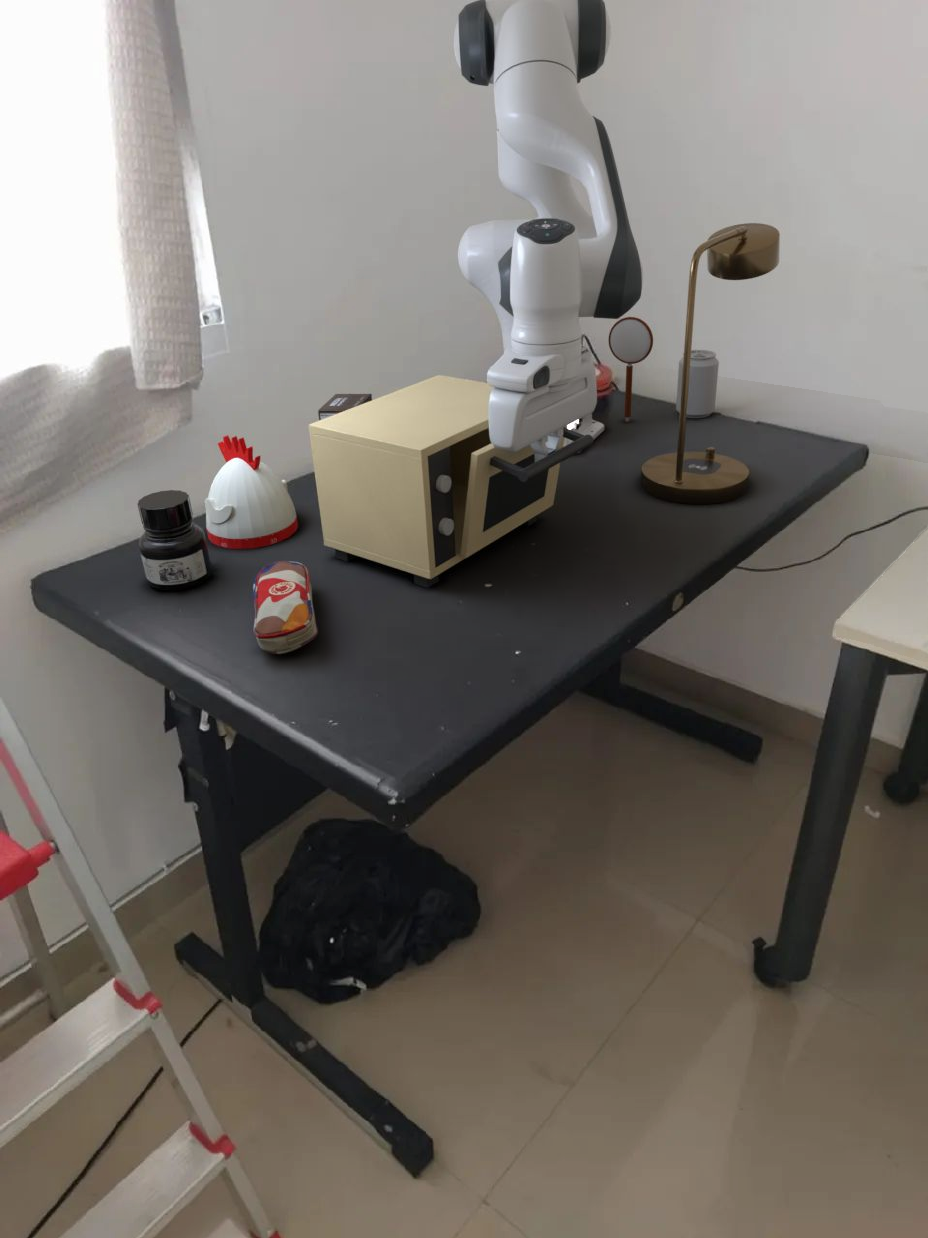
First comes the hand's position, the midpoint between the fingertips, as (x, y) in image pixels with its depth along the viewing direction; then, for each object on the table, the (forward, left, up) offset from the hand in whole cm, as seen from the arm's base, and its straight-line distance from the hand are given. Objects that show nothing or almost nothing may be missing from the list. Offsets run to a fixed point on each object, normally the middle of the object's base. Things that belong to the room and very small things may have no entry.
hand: (546, 462), depth 126 cm
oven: (+3, -17, -14) cm, 23 cm away
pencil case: (+33, -18, -15) cm, 40 cm away
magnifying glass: (-59, -20, -15) cm, 64 cm away
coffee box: (-3, -40, -15) cm, 43 cm away
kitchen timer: (+16, -44, -15) cm, 49 cm away
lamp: (-41, +5, -15) cm, 44 cm away
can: (-70, -11, -15) cm, 73 cm away
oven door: (0, -3, -12) cm, 12 cm away
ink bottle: (+33, -40, -15) cm, 54 cm away
